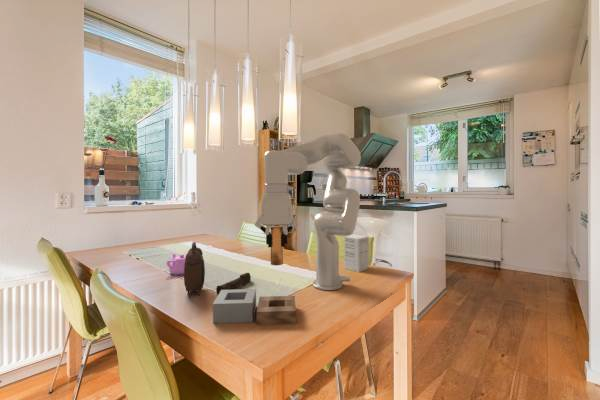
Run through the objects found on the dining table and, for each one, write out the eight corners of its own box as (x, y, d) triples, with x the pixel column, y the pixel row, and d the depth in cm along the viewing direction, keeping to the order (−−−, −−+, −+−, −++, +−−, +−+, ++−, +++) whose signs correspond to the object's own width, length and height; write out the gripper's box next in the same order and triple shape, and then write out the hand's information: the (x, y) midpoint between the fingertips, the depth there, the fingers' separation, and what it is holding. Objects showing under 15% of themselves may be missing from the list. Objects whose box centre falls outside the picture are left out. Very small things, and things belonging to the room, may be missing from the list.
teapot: (172, 269, 145) (172, 252, 144) (200, 268, 146) (199, 251, 146) (163, 276, 133) (163, 257, 133) (193, 275, 134) (193, 257, 134)
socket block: (256, 305, 99) (255, 289, 99) (252, 321, 87) (252, 302, 87) (221, 306, 98) (221, 289, 98) (213, 323, 86) (212, 303, 86)
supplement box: (354, 265, 151) (354, 234, 151) (369, 268, 145) (369, 236, 144) (343, 268, 145) (343, 236, 144) (358, 272, 138) (358, 238, 137)
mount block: (294, 307, 98) (294, 295, 98) (296, 323, 86) (296, 310, 86) (259, 308, 97) (259, 296, 97) (256, 324, 85) (256, 311, 85)
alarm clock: (204, 297, 106) (203, 245, 106) (183, 299, 104) (182, 246, 103) (205, 285, 120) (205, 238, 120) (187, 286, 118) (186, 239, 117)
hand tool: (222, 297, 108) (223, 285, 108) (215, 294, 110) (215, 283, 110) (255, 283, 124) (255, 272, 124) (248, 281, 126) (248, 271, 126)
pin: (283, 261, 93) (282, 226, 92) (283, 265, 89) (282, 227, 88) (271, 262, 93) (270, 226, 92) (270, 265, 89) (270, 227, 88)
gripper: (301, 189, 94) (301, 243, 95) (251, 189, 93) (252, 244, 94) (303, 189, 87) (303, 248, 87) (248, 190, 86) (249, 249, 86)
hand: (276, 245), depth 91 cm, fingers closed on pin, 4 cm apart
